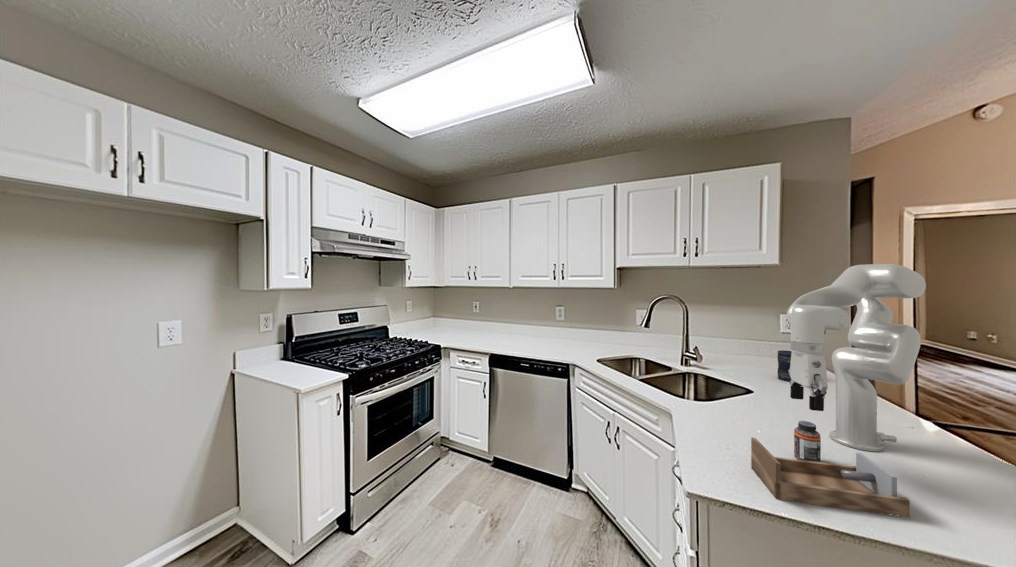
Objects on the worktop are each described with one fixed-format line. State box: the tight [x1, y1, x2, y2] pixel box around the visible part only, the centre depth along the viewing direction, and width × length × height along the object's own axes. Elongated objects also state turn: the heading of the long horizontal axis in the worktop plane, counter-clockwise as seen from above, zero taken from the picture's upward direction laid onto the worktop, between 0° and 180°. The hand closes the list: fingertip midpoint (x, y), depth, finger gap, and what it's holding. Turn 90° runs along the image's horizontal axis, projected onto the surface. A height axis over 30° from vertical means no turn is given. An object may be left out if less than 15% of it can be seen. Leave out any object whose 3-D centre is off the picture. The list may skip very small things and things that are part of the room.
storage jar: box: [776, 349, 792, 383], centre depth 178 cm, size 10×10×15 cm
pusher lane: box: [750, 437, 911, 518], centre depth 86 cm, size 26×14×9 cm, turn 74°
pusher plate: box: [841, 452, 898, 497], centre depth 84 cm, size 7×11×7 cm, turn 164°
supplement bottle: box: [793, 420, 822, 462], centre depth 100 cm, size 6×6×11 cm
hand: (806, 404), depth 100 cm, fingers open, 9 cm apart
